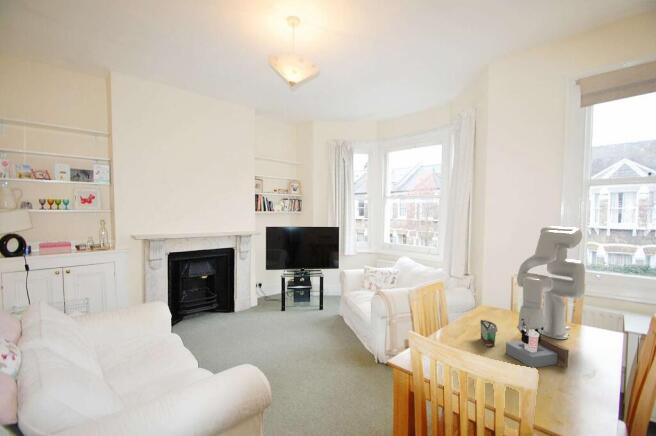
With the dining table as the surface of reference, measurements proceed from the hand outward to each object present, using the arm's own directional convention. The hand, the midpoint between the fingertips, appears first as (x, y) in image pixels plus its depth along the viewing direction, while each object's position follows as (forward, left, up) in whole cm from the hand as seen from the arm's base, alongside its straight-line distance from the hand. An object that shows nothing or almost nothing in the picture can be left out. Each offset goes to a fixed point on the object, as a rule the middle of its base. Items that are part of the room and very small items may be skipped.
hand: (530, 341), depth 136 cm
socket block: (0, 0, -8) cm, 8 cm away
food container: (+7, -17, -8) cm, 20 cm away
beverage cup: (0, 0, -5) cm, 5 cm away
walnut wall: (-8, 0, -8) cm, 12 cm away
